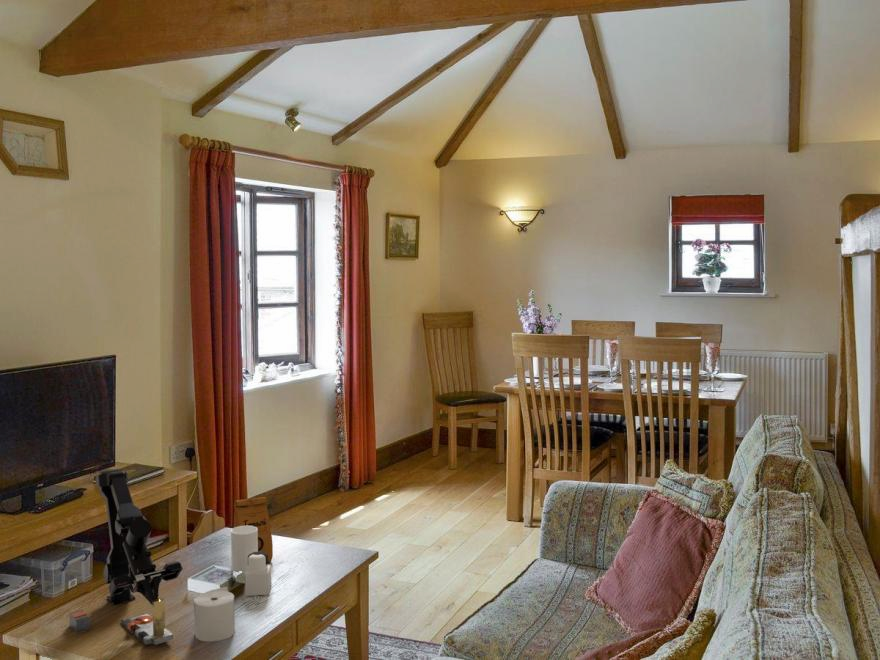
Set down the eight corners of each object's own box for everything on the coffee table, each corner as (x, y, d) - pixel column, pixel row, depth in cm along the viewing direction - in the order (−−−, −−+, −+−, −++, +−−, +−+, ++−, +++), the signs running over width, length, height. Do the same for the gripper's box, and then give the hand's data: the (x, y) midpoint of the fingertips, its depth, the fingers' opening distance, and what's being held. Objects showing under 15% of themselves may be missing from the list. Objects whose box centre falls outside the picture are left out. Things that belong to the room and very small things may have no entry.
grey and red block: (69, 626, 236) (69, 612, 235) (82, 623, 238) (82, 608, 237) (76, 634, 231) (76, 619, 231) (89, 630, 233) (89, 616, 233)
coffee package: (274, 564, 282) (273, 500, 280) (236, 569, 277) (235, 504, 275) (269, 554, 291) (268, 492, 289) (232, 559, 287) (231, 496, 284)
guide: (120, 623, 237) (120, 619, 237) (143, 616, 242) (143, 613, 242) (146, 645, 224) (146, 642, 224) (170, 638, 228) (170, 634, 228)
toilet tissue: (197, 645, 224) (196, 608, 223) (191, 626, 235) (190, 592, 234) (238, 638, 229) (237, 602, 228) (230, 620, 240) (229, 586, 239)
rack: (124, 625, 233) (122, 588, 232) (147, 618, 238) (146, 582, 237) (148, 646, 220) (147, 608, 220) (173, 639, 225) (172, 601, 224)
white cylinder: (251, 584, 265) (250, 534, 264) (227, 582, 267) (226, 533, 265) (262, 574, 273) (261, 526, 272) (238, 572, 275) (237, 524, 273)
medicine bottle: (248, 587, 263) (247, 549, 262) (271, 586, 264) (270, 549, 262) (244, 596, 256) (244, 558, 255) (268, 595, 257) (268, 557, 255)
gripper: (162, 561, 244) (180, 610, 237) (97, 577, 232) (113, 629, 225) (173, 541, 238) (192, 591, 230) (106, 557, 225) (123, 610, 218)
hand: (155, 606), depth 226 cm, fingers closed, pressing on rack
